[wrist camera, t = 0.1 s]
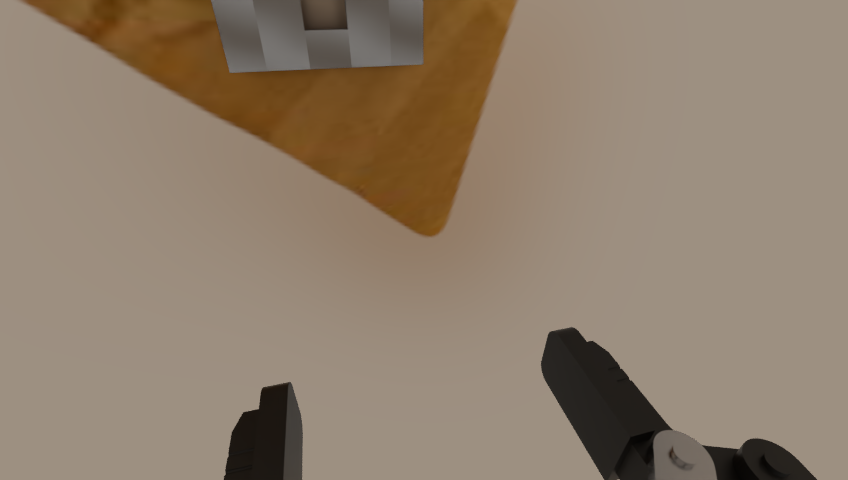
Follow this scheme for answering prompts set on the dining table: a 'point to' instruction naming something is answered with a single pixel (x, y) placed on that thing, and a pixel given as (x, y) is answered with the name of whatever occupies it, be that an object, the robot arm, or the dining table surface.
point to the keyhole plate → (319, 33)
